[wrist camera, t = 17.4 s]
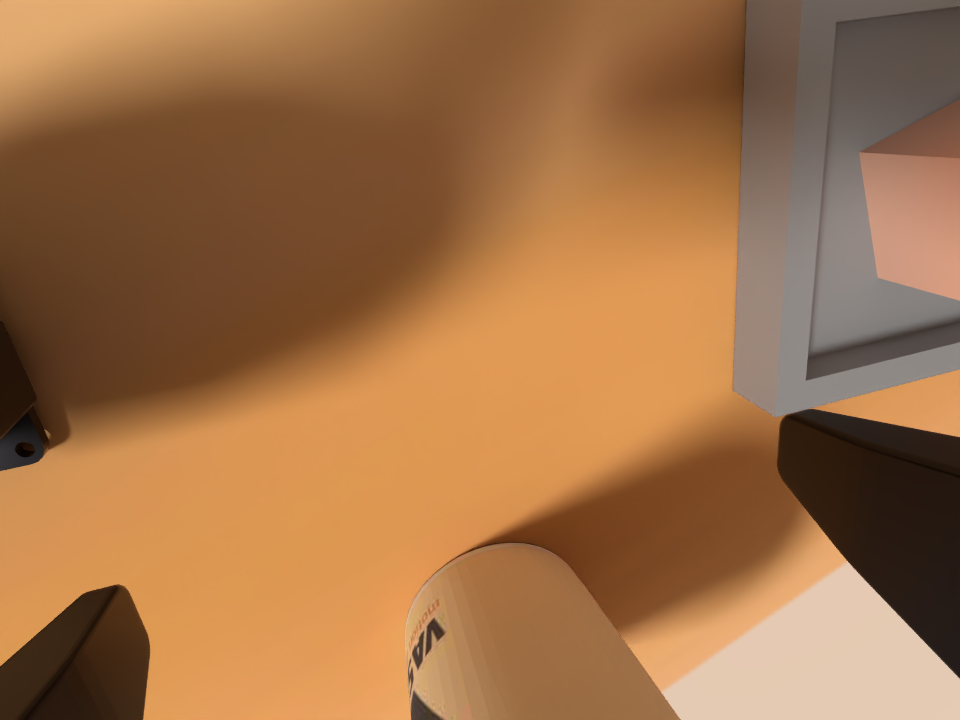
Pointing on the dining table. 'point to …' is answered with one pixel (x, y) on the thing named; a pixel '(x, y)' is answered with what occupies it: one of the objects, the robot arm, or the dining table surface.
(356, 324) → the dining table surface
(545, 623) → the coffee cup
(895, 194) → the terracotta block
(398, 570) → the dining table surface
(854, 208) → the grey square tray
